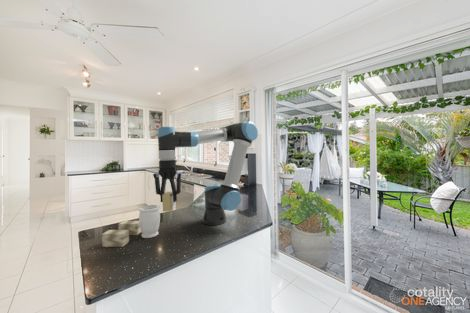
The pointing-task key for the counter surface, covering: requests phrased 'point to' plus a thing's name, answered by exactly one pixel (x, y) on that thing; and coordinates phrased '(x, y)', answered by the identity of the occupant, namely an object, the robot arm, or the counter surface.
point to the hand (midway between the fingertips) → (169, 208)
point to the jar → (149, 220)
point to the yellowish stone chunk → (167, 201)
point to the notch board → (120, 234)
